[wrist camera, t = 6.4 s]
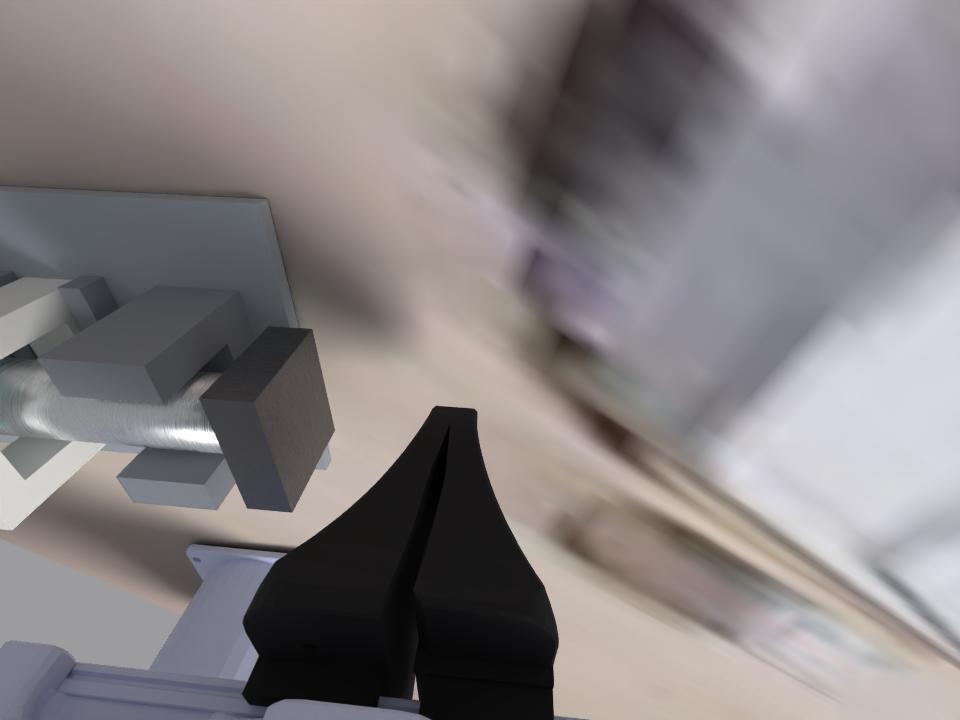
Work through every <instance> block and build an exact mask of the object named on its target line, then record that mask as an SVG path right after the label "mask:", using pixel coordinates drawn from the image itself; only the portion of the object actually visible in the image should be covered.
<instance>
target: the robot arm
mask: <svg viewBox="0 0 960 720" xmlns="http://www.w3.org/2000/svg"><path fill="white" fill-rule="evenodd" d="M186 555H187V556H188V558H189V559H190V561H191V563H192V564H193V566H194V567H195V569H196V571H197V572H198V574H199V575H200V577H201V579H202V580H203V583H202V584H201V586H200V587H199V589H198V591H197V592H196V594H195V595H194V597H193V599H192V600H191V602H190V603H189V605H188V607H187V608H186V610H185V612H184V613H183V615H182V616H181V618H180V620H179V621H178V623H177V624H176V626H175V628H174V629H173V631H172V633H171V634H170V636H169V637H168V639H167V641H166V642H165V644H164V645H163V647H162V649H161V650H160V652H159V653H158V655H157V657H156V658H155V660H154V662H153V663H152V665H151V666H150V668H149V670H142V669H133V668H125V667H116V666H107V665H98V664H89V663H80V662H76V661H75V659H74V658H73V656H72V655H71V654H70V653H69V652H67V651H66V650H64V649H62V648H59V647H57V646H53V645H47V644H39V643H30V642H21V641H8V642H5V643H4V645H3V646H2V647H1V648H0V720H587V719H578V718H569V717H560V716H554V710H553V687H554V673H553V664H554V660H555V657H556V653H557V649H558V644H559V638H558V631H557V626H556V621H555V618H554V614H553V611H552V608H551V604H550V601H549V599H548V596H547V593H546V590H545V587H544V585H543V583H542V582H541V580H540V579H539V577H538V576H537V574H536V573H535V571H534V570H533V568H532V567H531V565H530V563H529V562H528V560H527V559H526V557H525V555H524V553H523V552H522V550H521V548H520V547H519V545H518V543H517V541H516V539H515V537H514V535H513V533H512V531H511V529H510V528H509V526H508V524H507V522H506V520H505V518H504V515H503V513H502V511H501V509H500V506H499V504H498V502H497V499H496V497H495V494H494V492H493V489H492V486H491V483H490V480H489V477H488V474H487V471H486V468H485V464H484V461H483V457H482V453H481V448H480V444H479V438H478V431H477V411H476V410H475V409H471V408H457V407H444V406H435V407H434V408H433V409H432V411H431V413H430V414H429V416H428V418H427V419H426V421H425V422H424V424H423V425H422V427H421V428H420V430H419V431H418V433H417V434H416V436H415V437H414V438H413V440H412V441H411V442H410V444H409V445H408V446H407V448H406V449H405V450H404V452H403V453H402V454H401V455H400V457H399V458H398V459H397V460H396V461H395V463H394V464H393V465H392V466H391V467H390V468H389V470H388V471H387V472H386V473H385V474H384V475H383V476H382V477H381V478H380V479H379V481H378V482H377V483H376V484H375V485H374V486H373V487H372V488H371V489H370V490H369V491H368V492H367V493H366V494H364V495H363V496H362V497H361V498H360V499H359V500H358V501H357V502H356V503H355V504H353V505H352V506H351V507H350V508H349V509H348V510H347V511H345V512H344V513H343V514H342V515H341V516H339V517H338V518H337V519H336V520H334V521H333V522H332V523H330V524H329V525H328V526H326V527H325V528H324V529H322V530H321V531H320V532H319V533H317V534H316V535H315V536H313V537H312V538H310V539H309V540H307V541H306V542H304V543H303V544H301V545H300V546H298V547H297V548H295V549H294V550H292V551H291V552H289V553H279V552H269V551H258V550H248V549H238V548H228V547H217V546H207V545H197V544H192V545H190V546H189V547H188V548H187V550H186ZM415 675H416V681H417V688H418V696H419V701H418V700H412V698H413V690H414V683H415Z"/></svg>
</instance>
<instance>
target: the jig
mask: <svg viewBox="0 0 960 720" xmlns="http://www.w3.org/2000/svg"><path fill="white" fill-rule="evenodd" d="M23 277H32V278H48V279H64V280H72V281H70V282H68V283H65V284H63V285H61V286H59V287H57V288H58V290H59V292H60V294H61V295H62V297H63V299H64V301H65V302H66V304H67V306H68V308H69V309H70V311H71V313H72V315H73V316H74V318H75V320H76V322H77V323H78V325H79V327H80V329H81V330H82V331H81V332H79V333H78V334H76V335H74V336H73V337H71V338H69V339H68V340H66V341H65V342H63V343H61V344H60V345H58V346H56V347H55V348H53V349H51V350H50V351H48V352H46V353H45V354H43V355H42V356H40V357H38V356H37V355H36V353H35V352H34V350H33V349H32V347H31V346H30V344H27V345H25V346H24V347H22V348H20V349H18V350H16V351H15V352H13V353H11V354H9V355H8V356H6V357H8V358H21V359H35V360H38V361H39V362H40V364H41V365H42V367H43V368H44V370H45V371H46V373H47V374H48V376H49V377H50V379H51V380H52V382H53V383H54V385H55V386H56V388H57V389H58V391H59V392H60V394H61V395H62V396H65V397H78V398H90V399H103V400H116V401H129V402H141V403H154V404H164V403H165V402H166V401H167V400H168V399H169V398H171V397H172V396H173V395H174V394H175V393H176V392H177V391H178V390H179V389H180V388H181V387H182V386H183V385H184V384H185V383H186V382H187V381H188V380H190V379H191V378H192V377H193V376H194V375H195V374H196V373H197V372H211V373H224V372H225V371H226V370H227V369H228V368H229V366H230V365H231V364H232V363H233V362H234V361H235V360H236V359H237V358H238V357H239V356H240V355H241V354H242V353H243V352H244V351H245V350H246V349H247V348H248V347H249V346H250V345H251V344H252V343H253V342H254V341H255V340H256V339H257V338H258V337H259V336H260V335H261V333H262V332H263V331H264V330H265V329H266V328H267V327H268V326H273V327H288V328H299V326H298V322H297V318H296V314H295V310H294V306H293V302H292V298H291V294H290V290H289V285H288V281H287V277H286V273H285V269H284V265H283V261H282V257H281V253H280V249H279V244H278V240H277V236H276V232H275V228H274V224H273V220H272V216H271V212H270V208H269V203H268V199H257V198H236V197H216V196H196V195H175V194H155V193H135V192H115V191H94V190H74V189H54V188H33V187H13V186H0V287H2V286H5V285H7V284H9V283H12V282H14V281H16V280H19V279H21V278H23ZM19 437H21V436H9V435H0V442H8V443H13V442H14V441H15V440H17V439H18V438H19ZM101 451H113V452H124V453H136V454H138V455H137V456H136V457H135V458H134V459H133V460H132V461H131V462H130V463H129V464H128V465H127V466H126V467H125V468H124V470H123V471H122V472H121V473H120V474H119V475H118V476H117V477H116V478H117V479H118V481H119V482H120V484H121V485H122V487H123V488H124V490H125V491H126V493H127V494H128V496H129V497H130V499H131V500H132V502H134V503H145V504H155V505H166V506H177V507H188V508H199V509H209V510H217V509H218V508H219V506H220V505H221V503H222V502H223V501H224V499H225V498H226V496H227V495H228V493H229V492H230V490H231V489H232V488H233V486H234V485H235V483H236V482H235V479H234V477H233V475H232V473H231V470H230V468H229V466H228V464H227V461H226V459H225V457H224V455H223V454H222V453H210V452H198V451H186V450H174V449H163V448H151V447H139V446H127V445H115V444H106V445H105V446H104V447H103V448H102V449H101ZM330 461H331V458H330V454H329V450H328V445H327V446H326V448H325V450H324V452H323V454H322V456H321V458H320V460H319V462H318V464H317V466H316V468H315V469H323V470H326V469H327V467H328V465H329V463H330Z"/></svg>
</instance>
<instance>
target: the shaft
mask: <svg viewBox="0 0 960 720" xmlns="http://www.w3.org/2000/svg"><path fill="white" fill-rule="evenodd" d="M334 431H335V429H334V424H333V420H332V415H331V411H330V406H329V402H328V397H327V393H326V388H325V384H324V380H323V375H322V371H321V366H320V362H319V357H318V353H317V348H316V344H315V339H314V335H313V330H312V329H303V328H288V327H273V326H268V327H267V328H266V329H265V330H264V331H263V332H262V333H261V335H260V336H259V337H258V338H257V339H256V340H255V341H254V342H253V343H252V344H251V345H250V346H249V347H248V348H247V349H246V350H245V351H244V352H243V353H242V354H241V355H240V356H239V357H238V358H237V359H236V360H235V361H234V362H233V363H232V364H231V365H230V366H229V368H228V369H227V370H226V371H225V372H224V373H211V372H197V373H196V374H195V375H194V376H193V377H192V378H191V379H190V380H188V381H187V382H186V383H185V384H184V385H183V386H182V387H181V388H180V389H179V390H178V391H177V392H176V393H175V394H174V395H173V396H172V397H171V398H169V399H168V400H167V401H166V402H165V403H164V404H154V403H141V402H129V401H116V400H103V399H90V398H78V397H65V396H62V395H61V394H60V392H59V391H58V389H57V388H56V386H55V385H54V383H53V382H52V380H51V379H50V377H49V376H48V374H47V373H46V371H45V370H44V368H43V367H42V365H41V364H40V362H39V361H38V360H35V359H21V358H8V357H4V358H2V359H1V360H0V435H9V436H21V437H33V438H45V439H56V440H68V441H80V442H92V443H104V444H115V445H127V446H139V447H151V448H163V449H174V450H186V451H198V452H210V453H222V454H223V455H224V457H225V459H226V461H227V464H228V466H229V468H230V470H231V473H232V475H233V477H234V479H235V482H236V484H237V486H238V489H239V491H240V493H241V495H242V498H243V500H244V502H245V504H246V507H247V508H249V509H259V510H270V511H281V512H293V510H294V508H295V506H296V504H297V502H298V501H299V499H300V497H301V495H302V493H303V491H304V489H305V487H306V485H307V483H308V481H309V479H310V477H311V475H312V473H313V472H314V470H315V468H316V466H317V464H318V462H319V460H320V458H321V456H322V454H323V452H324V450H325V448H326V446H327V445H328V443H329V441H330V439H331V437H332V435H333V433H334Z"/></svg>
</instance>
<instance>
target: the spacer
mask: <svg viewBox="0 0 960 720" xmlns="http://www.w3.org/2000/svg"><path fill="white" fill-rule="evenodd" d="M70 281H72V280H64V279H48V278H32V277H23V278H21V279H19V280H16V281H14V282H12V283H9V284H7V285H5V286H2V287H0V360H1V359H2V358H4V357H6V356H8V355H9V354H11V353H13V352H15V351H16V350H18V349H20V348H22V347H24V346H25V345H27V344H30V346H31V347H32V349H33V350H34V352H35V353H36V355H37V356H38V357H40V356H42V355H43V354H45V353H46V352H48V351H50V350H51V349H53V348H55V347H56V346H58V345H60V344H61V343H63V342H65V341H66V340H68V339H69V338H71V337H73V336H74V335H76V334H78V333H79V332H81V331H82V330H81V329H80V327H79V325H78V323H77V322H76V320H75V318H74V316H73V315H72V313H71V311H70V309H69V308H68V306H67V304H66V302H65V301H64V299H63V297H62V295H61V294H60V292H59V290H58V288H57V287H59V286H61V285H63V284H65V283H68V282H70ZM105 445H106V444H104V443H92V442H80V441H68V440H56V439H45V438H33V437H19V438H18V439H17V440H15V441H14V442H13V443H11V444H10V445H9V446H7V447H6V448H5V449H3V450H2V451H1V452H0V529H3V530H13V529H14V528H15V527H16V526H18V525H19V524H20V523H21V522H22V521H23V520H24V519H25V518H26V517H27V516H28V515H30V514H31V513H32V512H33V511H34V510H35V509H36V508H37V507H38V506H39V505H41V504H42V503H43V502H44V501H45V500H46V499H47V498H48V497H49V496H50V495H51V494H53V493H54V492H55V491H56V490H57V489H58V488H59V487H60V486H61V485H62V484H64V483H65V482H66V481H67V480H68V479H69V478H70V477H71V476H72V475H73V474H74V473H76V472H77V471H78V470H79V469H80V468H81V467H82V466H83V465H84V464H85V463H86V462H88V461H89V460H90V459H91V458H92V457H93V456H94V455H95V454H96V453H97V452H99V451H100V450H101V449H102V448H103V447H104V446H105Z"/></svg>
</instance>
